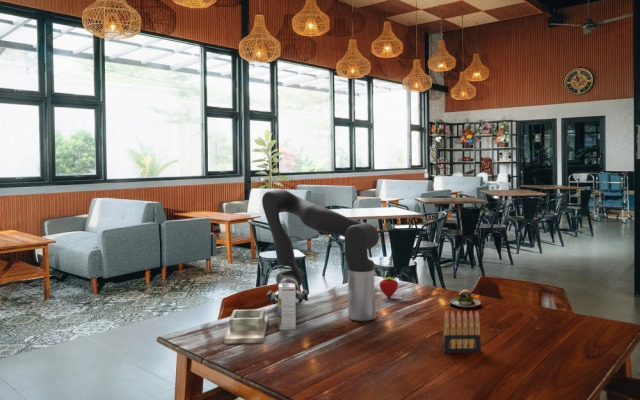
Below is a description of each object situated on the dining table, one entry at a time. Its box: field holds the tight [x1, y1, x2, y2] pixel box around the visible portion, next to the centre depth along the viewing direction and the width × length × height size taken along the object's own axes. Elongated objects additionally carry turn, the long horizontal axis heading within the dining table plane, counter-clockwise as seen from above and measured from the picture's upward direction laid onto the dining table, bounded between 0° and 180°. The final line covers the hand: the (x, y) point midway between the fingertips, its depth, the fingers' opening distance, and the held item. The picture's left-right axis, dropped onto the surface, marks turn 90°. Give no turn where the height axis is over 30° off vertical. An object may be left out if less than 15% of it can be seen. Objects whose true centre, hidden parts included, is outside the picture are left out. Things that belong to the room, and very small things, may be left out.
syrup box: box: [277, 283, 297, 331], centre depth 175 cm, size 6×6×14 cm
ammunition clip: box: [442, 310, 482, 354], centre depth 151 cm, size 11×2×12 cm, turn 90°
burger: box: [448, 289, 482, 308], centre depth 199 cm, size 12×12×8 cm
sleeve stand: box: [223, 308, 269, 344], centre depth 172 cm, size 12×22×6 cm, turn 2°
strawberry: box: [379, 273, 399, 299], centre depth 210 cm, size 6×8×10 cm
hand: (286, 301), depth 177 cm, fingers open, 8 cm apart
